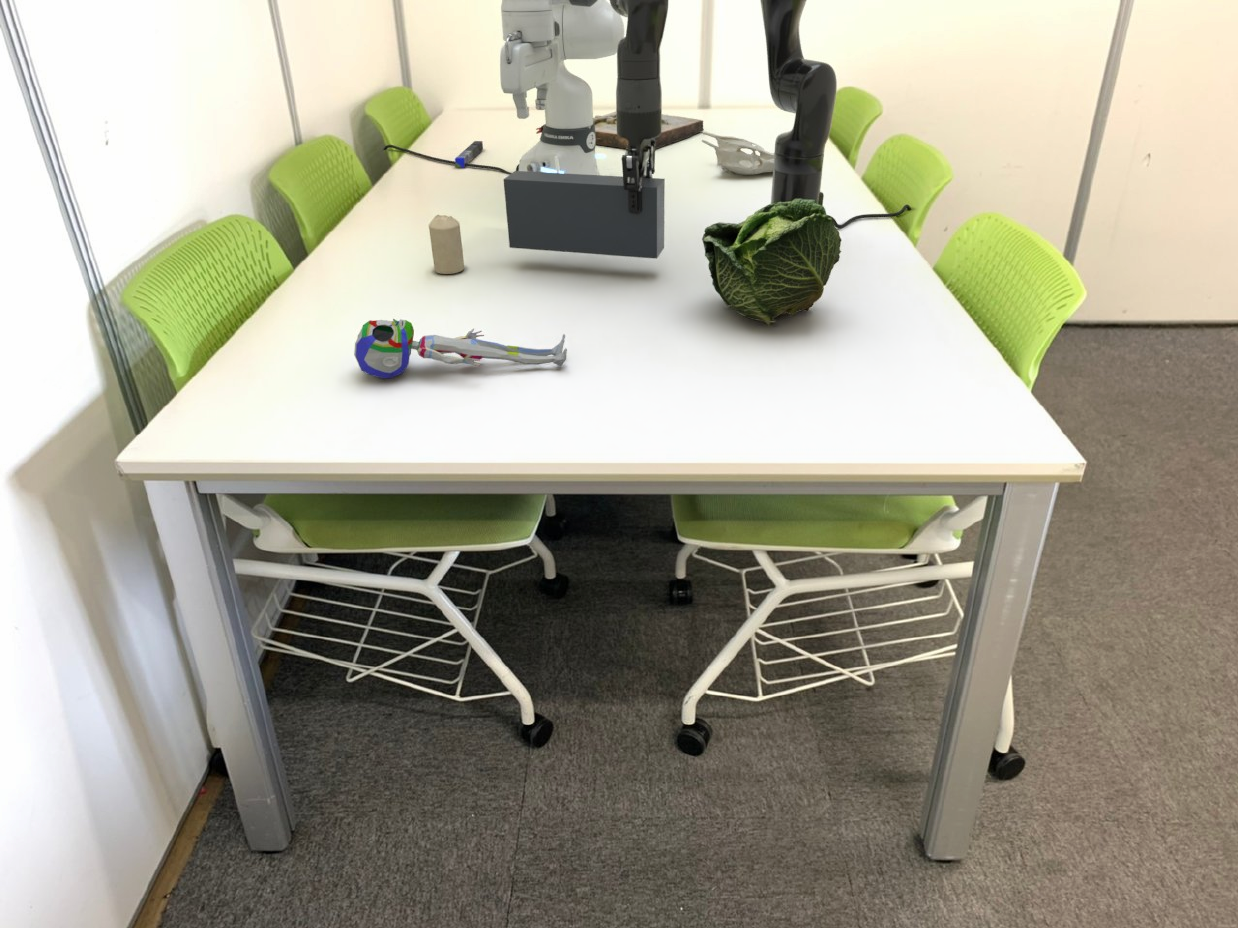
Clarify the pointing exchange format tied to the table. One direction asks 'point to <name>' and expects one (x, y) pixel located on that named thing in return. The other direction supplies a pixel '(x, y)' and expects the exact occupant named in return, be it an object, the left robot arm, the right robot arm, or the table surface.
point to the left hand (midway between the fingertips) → (532, 113)
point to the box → (583, 214)
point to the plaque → (671, 132)
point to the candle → (446, 244)
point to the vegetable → (773, 259)
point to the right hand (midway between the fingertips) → (639, 207)
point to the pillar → (468, 154)
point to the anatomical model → (741, 155)
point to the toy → (435, 349)
